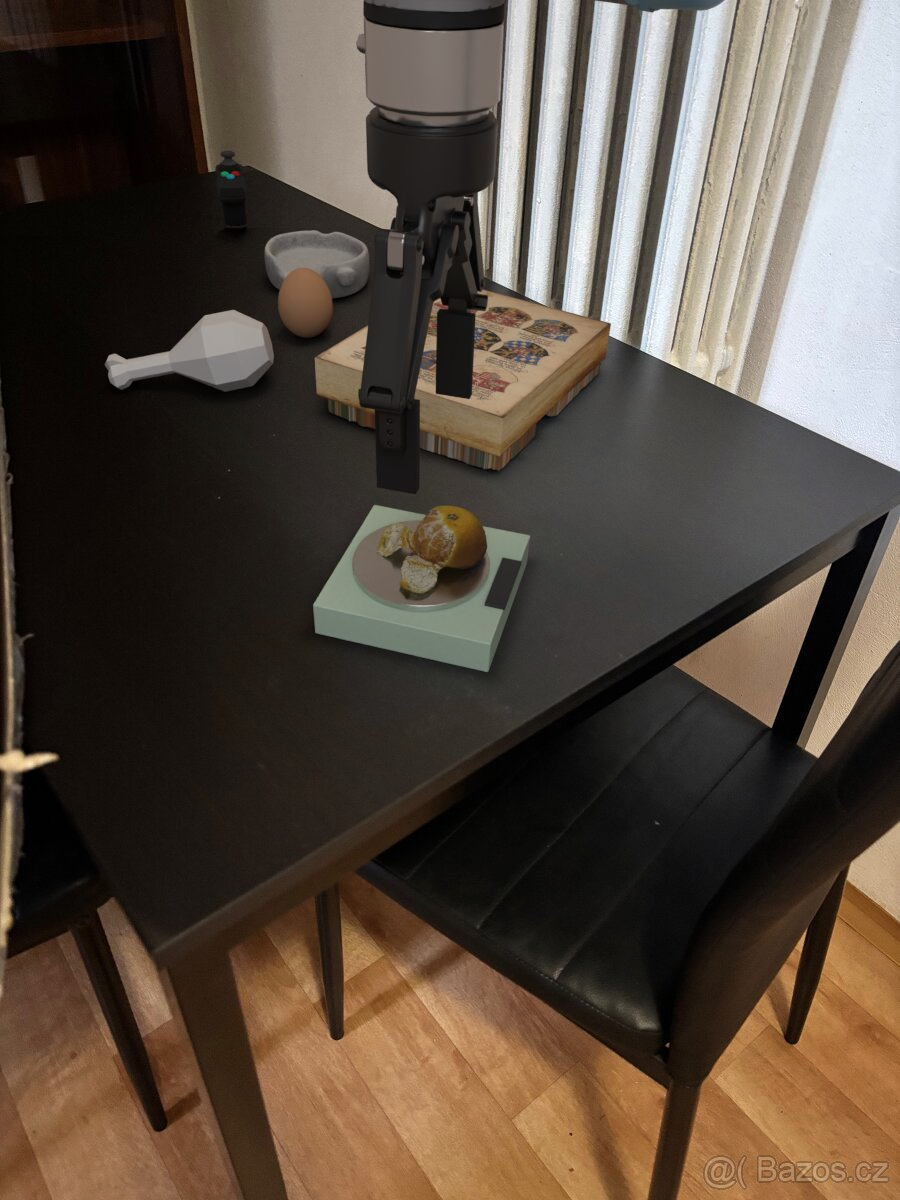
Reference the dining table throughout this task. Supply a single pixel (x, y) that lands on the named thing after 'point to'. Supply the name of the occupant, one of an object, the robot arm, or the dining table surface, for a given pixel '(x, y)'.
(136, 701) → the dining table surface
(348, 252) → the dish
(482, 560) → the scale pan
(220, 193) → the controller
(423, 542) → the fruit
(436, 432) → the book
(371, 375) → the robot arm
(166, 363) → the chicken leg
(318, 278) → the egg
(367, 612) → the scale
